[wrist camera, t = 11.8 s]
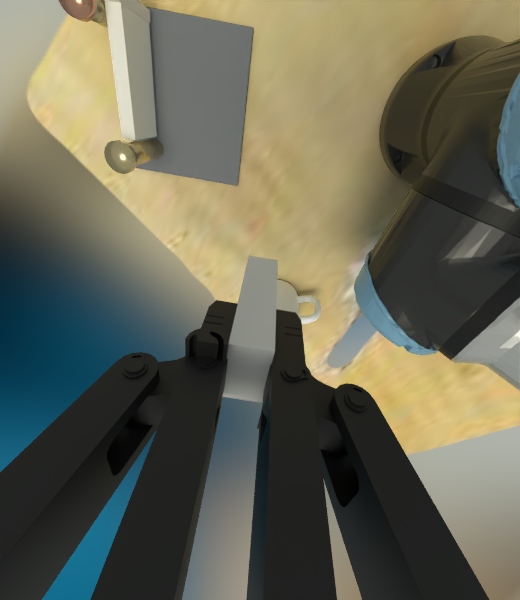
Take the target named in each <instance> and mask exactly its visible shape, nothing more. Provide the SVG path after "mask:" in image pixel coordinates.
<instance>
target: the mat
mask: <svg viewBox="0 0 520 600" xmlns="http://www.w3.org/2000/svg"><path fill="white" fill-rule="evenodd" d="M146 8H148V9H149V10H150V23H149V28H150V42H151V57H152V72H153V87H154V102H155V116H156V131H157V137H152V138H146V139H140V140H133V142H136V141H142V140H147V139H157V140H159V141H160V142H161V144H162V145H163V149H164V152H163V155H162V156H161V157H160V158H157V159H154V160H151V161H148V162H145V163H142V164H139V165H137V166H136V168H140V169H145V170H151V171H157V172H162V173H168V174H173V175H179V176H185V177H190V178H196V179H202V180H207V181H213V182H219V183H224V184H230V185H236V186H238V180H239V170H240V160H241V150H242V140H243V130H244V120H245V110H246V100H247V90H248V80H249V70H250V60H251V50H252V40H253V30H254V29H253V28H252V27H247V26H242V25H237V24H232V23H226V22H221V21H216V20H211V19H206V18H201V17H196V16H191V15H186V14H180V13H175V12H170V11H165V10H160V9H155V8H150V7H146Z"/></svg>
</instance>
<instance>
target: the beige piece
mask: <svg viewBox="0 0 520 600" xmlns="http://www.w3.org/2000/svg"><path fill="white" fill-rule="evenodd" d="M104 2H105V9H106V17H107V25H108V32H109V40H110V48H111V55H112V63H113V71H114V79H115V86H116V94H117V102H118V109H119V117H120V125H121V132H122V138H125V139H131V140H140V139H146V138H152V137H157V131H156V116H155V102H154V87H153V72H152V57H151V42H150V28H149V23H150V10H149V9H148V8H146V7H145V6H144V5H143V4H141V3H140V2H139V1H138V0H104Z"/></svg>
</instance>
